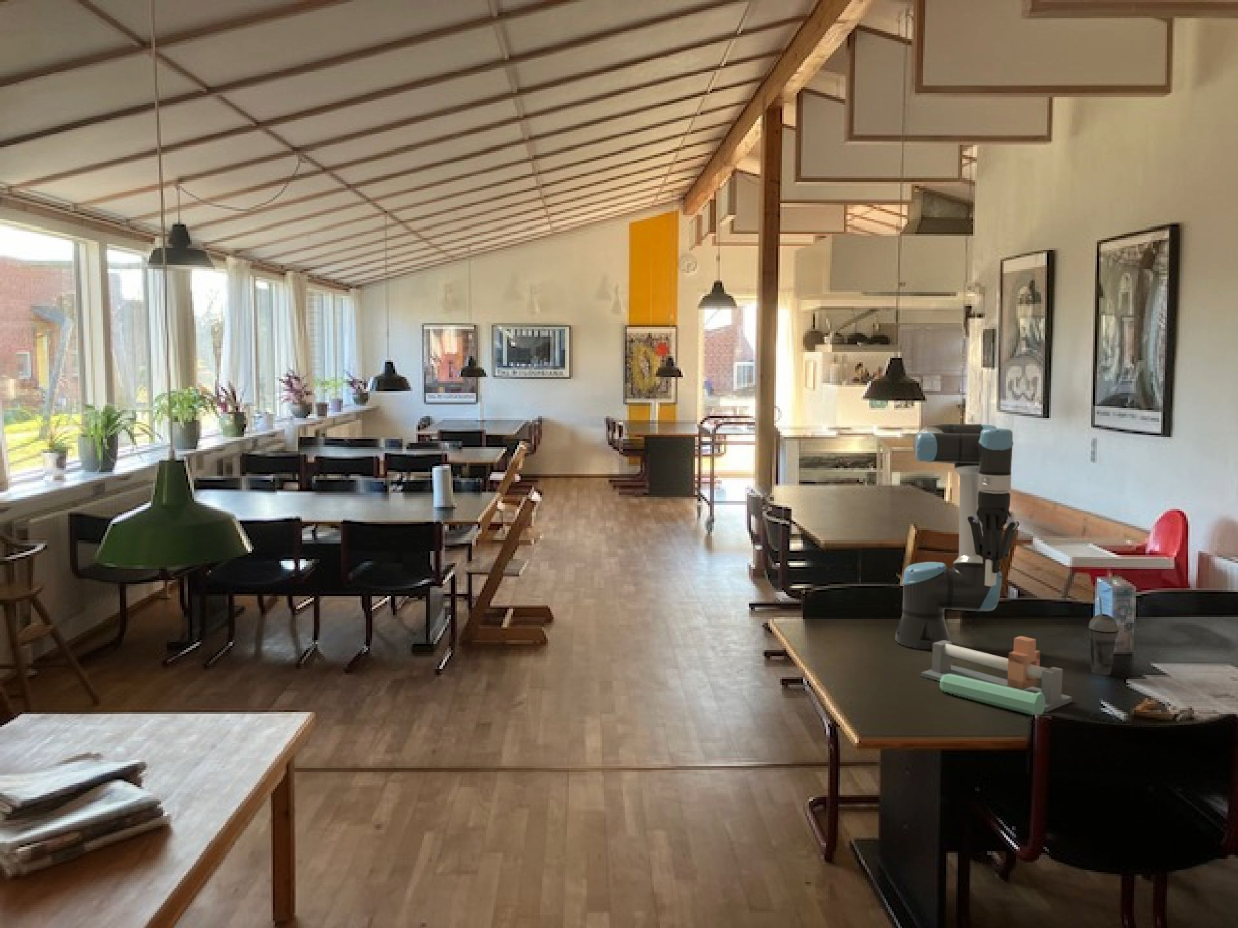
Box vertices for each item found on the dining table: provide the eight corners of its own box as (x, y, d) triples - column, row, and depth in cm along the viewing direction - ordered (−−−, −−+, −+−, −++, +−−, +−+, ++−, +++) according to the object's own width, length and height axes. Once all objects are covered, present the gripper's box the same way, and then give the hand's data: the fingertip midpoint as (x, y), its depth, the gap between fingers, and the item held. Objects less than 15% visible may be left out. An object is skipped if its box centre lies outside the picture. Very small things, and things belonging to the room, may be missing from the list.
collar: (1007, 685, 245) (1009, 639, 244) (1023, 679, 250) (1025, 634, 249) (1022, 689, 242) (1024, 643, 241) (1038, 683, 247) (1040, 637, 246)
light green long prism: (938, 668, 250) (1037, 690, 231) (949, 672, 254) (1047, 695, 235) (933, 691, 249) (1031, 716, 230) (944, 695, 253) (1042, 720, 234)
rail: (921, 676, 262) (922, 644, 261) (947, 668, 269) (948, 636, 268) (1046, 712, 235) (1047, 676, 235) (1071, 701, 243) (1073, 666, 242)
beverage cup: (1119, 677, 262) (1123, 601, 260) (1089, 675, 264) (1093, 600, 262) (1112, 668, 269) (1115, 595, 267) (1082, 667, 271) (1086, 594, 269)
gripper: (962, 489, 252) (958, 582, 254) (1010, 495, 242) (1006, 591, 244) (978, 487, 256) (975, 578, 259) (1027, 492, 246) (1022, 587, 249)
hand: (990, 584), depth 251 cm, fingers closed
